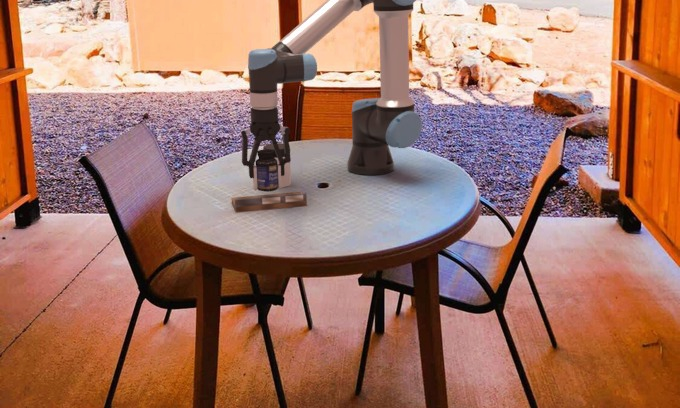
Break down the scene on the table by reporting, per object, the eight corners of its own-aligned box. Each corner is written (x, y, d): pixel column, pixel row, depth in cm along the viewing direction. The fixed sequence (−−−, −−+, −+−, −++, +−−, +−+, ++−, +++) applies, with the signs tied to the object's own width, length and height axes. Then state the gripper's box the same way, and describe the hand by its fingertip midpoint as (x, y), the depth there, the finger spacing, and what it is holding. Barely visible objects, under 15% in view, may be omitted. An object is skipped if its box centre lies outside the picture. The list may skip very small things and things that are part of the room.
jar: (271, 189, 235) (270, 151, 231) (259, 183, 242) (257, 145, 238) (297, 184, 240) (296, 146, 236) (284, 178, 246) (282, 141, 243)
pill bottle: (273, 192, 217) (271, 154, 214) (253, 191, 219) (251, 152, 216) (281, 186, 223) (280, 149, 220) (262, 185, 225) (260, 147, 222)
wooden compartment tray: (300, 196, 228) (300, 185, 227) (307, 205, 220) (306, 194, 219) (231, 202, 224) (231, 190, 223) (235, 212, 215) (235, 200, 214)
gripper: (295, 102, 220) (297, 181, 227) (227, 106, 215) (232, 186, 222) (301, 107, 213) (303, 188, 220) (230, 111, 208) (235, 194, 216)
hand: (267, 187), depth 221 cm, fingers closed on pill bottle, 6 cm apart
